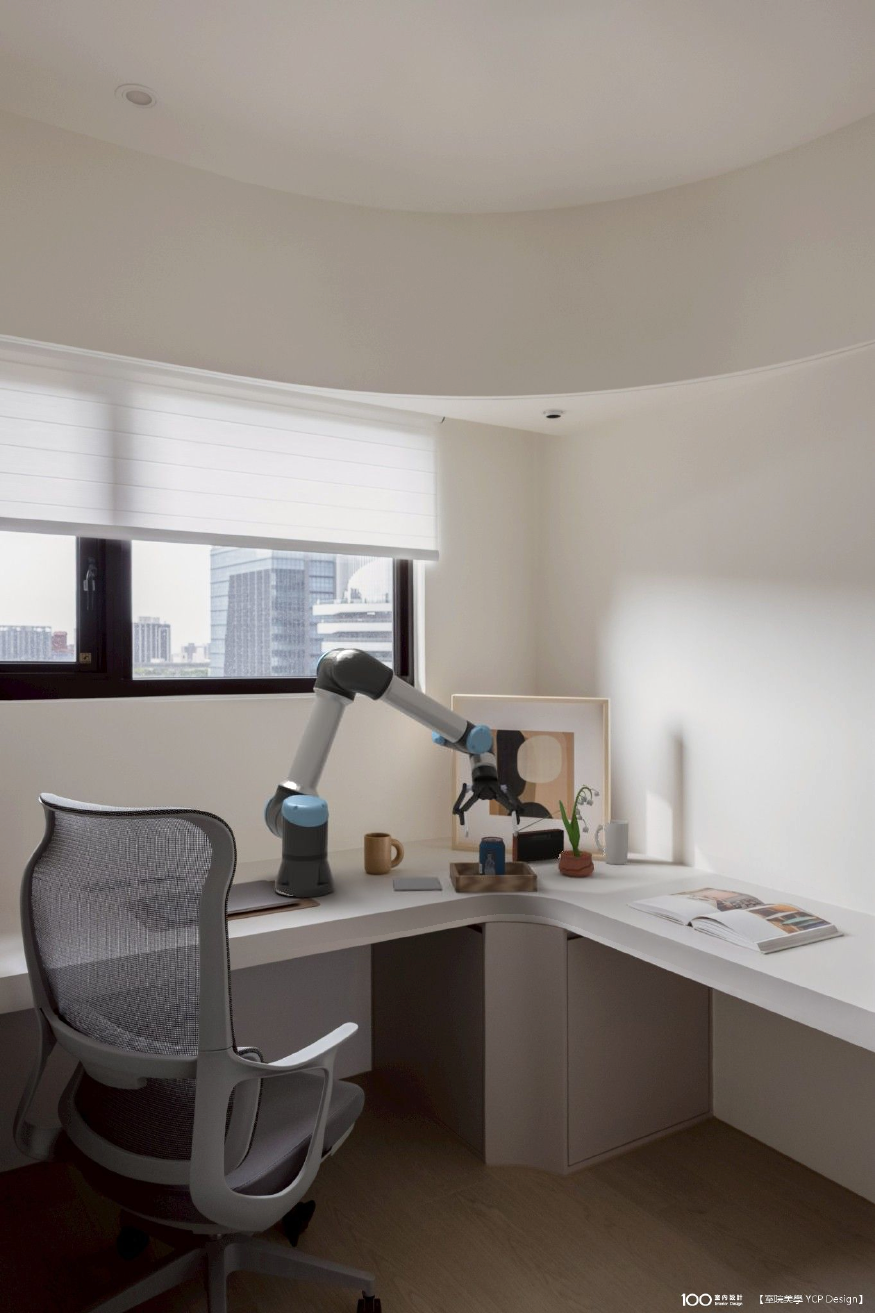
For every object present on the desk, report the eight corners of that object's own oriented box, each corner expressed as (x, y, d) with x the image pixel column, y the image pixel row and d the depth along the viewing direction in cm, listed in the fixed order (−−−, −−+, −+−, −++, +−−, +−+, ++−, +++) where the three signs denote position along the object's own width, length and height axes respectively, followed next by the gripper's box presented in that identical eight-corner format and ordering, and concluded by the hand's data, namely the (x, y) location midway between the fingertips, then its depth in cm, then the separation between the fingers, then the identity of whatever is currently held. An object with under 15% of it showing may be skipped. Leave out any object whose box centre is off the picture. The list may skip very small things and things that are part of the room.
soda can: (498, 880, 245) (499, 835, 245) (509, 886, 239) (509, 840, 239) (474, 881, 243) (475, 837, 243) (484, 888, 236) (485, 842, 236)
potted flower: (589, 868, 260) (590, 781, 260) (607, 876, 250) (607, 785, 250) (551, 871, 256) (552, 782, 256) (567, 879, 246) (568, 787, 246)
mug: (631, 861, 269) (631, 821, 269) (624, 866, 263) (624, 824, 263) (598, 857, 273) (598, 818, 273) (590, 862, 268) (591, 821, 268)
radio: (517, 864, 265) (518, 812, 265) (512, 861, 267) (512, 811, 267) (570, 858, 273) (570, 808, 273) (564, 856, 276) (564, 806, 276)
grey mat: (394, 891, 233) (394, 889, 233) (392, 879, 245) (392, 877, 245) (441, 890, 234) (441, 888, 234) (437, 879, 246) (437, 877, 246)
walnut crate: (455, 892, 232) (455, 876, 232) (449, 877, 248) (449, 862, 248) (536, 891, 234) (536, 875, 234) (525, 876, 250) (525, 861, 250)
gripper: (524, 779, 267) (534, 841, 252) (440, 779, 265) (445, 842, 250) (528, 763, 262) (538, 825, 247) (442, 764, 259) (447, 826, 245)
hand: (491, 834), depth 248 cm, fingers open, 13 cm apart
